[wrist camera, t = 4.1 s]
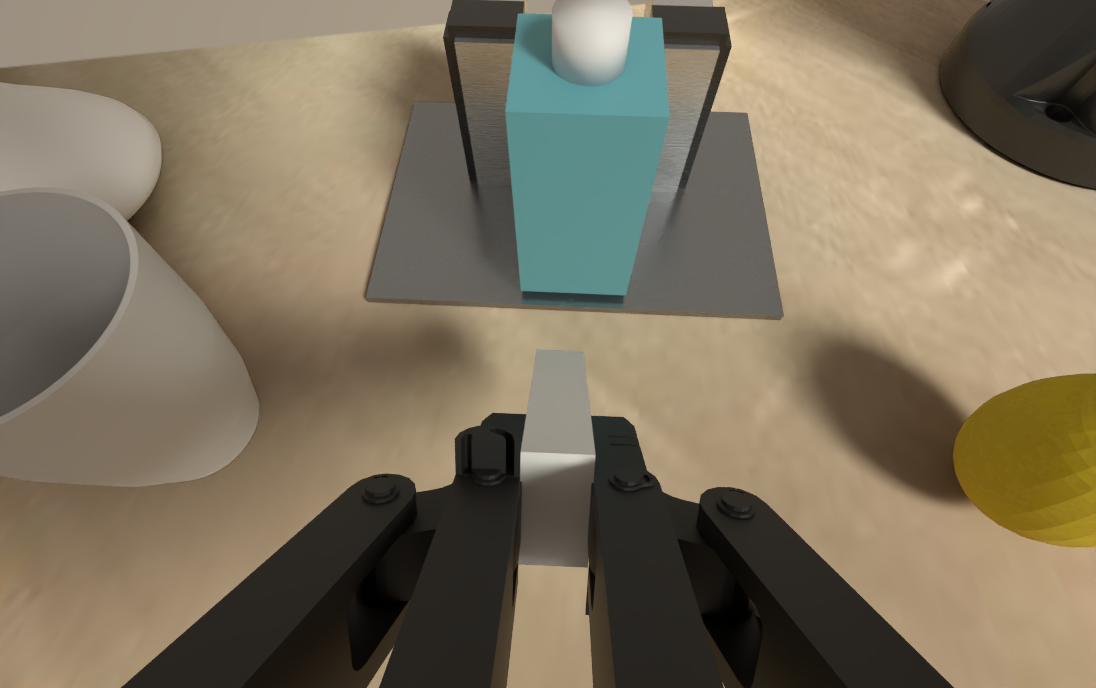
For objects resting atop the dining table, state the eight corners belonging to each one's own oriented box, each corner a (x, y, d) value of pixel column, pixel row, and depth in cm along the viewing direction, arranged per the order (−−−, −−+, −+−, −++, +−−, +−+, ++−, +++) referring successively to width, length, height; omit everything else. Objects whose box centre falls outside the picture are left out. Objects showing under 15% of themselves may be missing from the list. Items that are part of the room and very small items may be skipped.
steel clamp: (744, 118, 31) (811, -49, 23) (780, 320, 25) (888, 184, 17) (416, 107, 32) (371, -60, 24) (368, 301, 25) (286, 162, 17)
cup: (146, 337, 24) (-84, 182, 16) (316, 344, 24) (181, 191, 15) (66, 515, 21) (-294, 446, 12) (265, 524, 21) (50, 461, 12)
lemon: (914, 403, 23) (1079, 310, 16) (1051, 450, 22) (1292, 374, 15) (902, 523, 21) (1089, 478, 14) (1055, 582, 20) (1342, 567, 13)
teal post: (624, 213, 27) (671, -33, 17) (625, 295, 25) (682, 68, 14) (528, 209, 27) (515, -38, 17) (520, 290, 25) (500, 62, 14)
